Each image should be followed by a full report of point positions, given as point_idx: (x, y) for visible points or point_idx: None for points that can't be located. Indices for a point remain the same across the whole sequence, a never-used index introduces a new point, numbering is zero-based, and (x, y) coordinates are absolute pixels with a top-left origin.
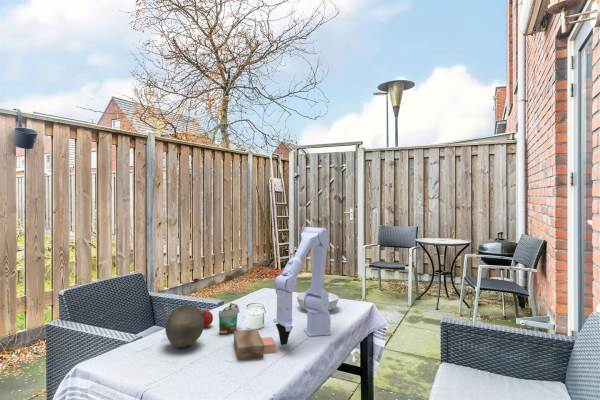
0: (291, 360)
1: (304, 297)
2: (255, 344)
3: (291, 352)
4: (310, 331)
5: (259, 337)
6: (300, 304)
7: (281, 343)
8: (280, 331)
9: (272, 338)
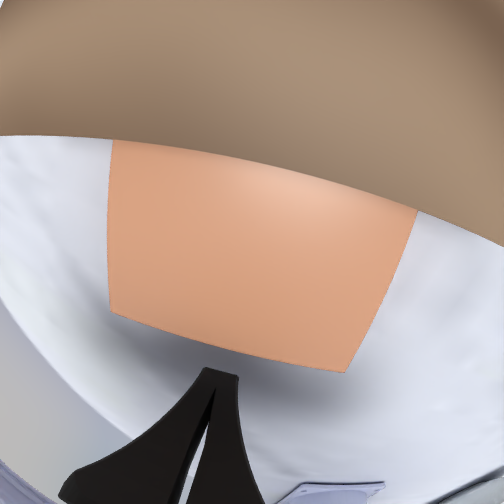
0: (38, 293)
1: None
2: (12, 26)
3: (130, 357)
4: (319, 500)
5: (216, 116)
6: (498, 488)
7: (199, 375)
8: (99, 465)
9: (295, 361)
